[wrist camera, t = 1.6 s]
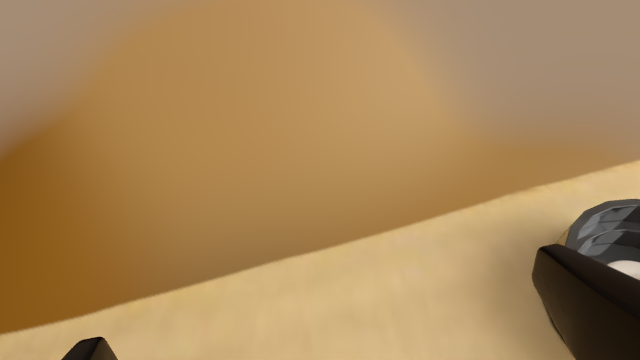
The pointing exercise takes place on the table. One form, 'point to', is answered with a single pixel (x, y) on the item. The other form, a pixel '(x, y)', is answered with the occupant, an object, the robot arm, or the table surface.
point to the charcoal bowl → (607, 232)
